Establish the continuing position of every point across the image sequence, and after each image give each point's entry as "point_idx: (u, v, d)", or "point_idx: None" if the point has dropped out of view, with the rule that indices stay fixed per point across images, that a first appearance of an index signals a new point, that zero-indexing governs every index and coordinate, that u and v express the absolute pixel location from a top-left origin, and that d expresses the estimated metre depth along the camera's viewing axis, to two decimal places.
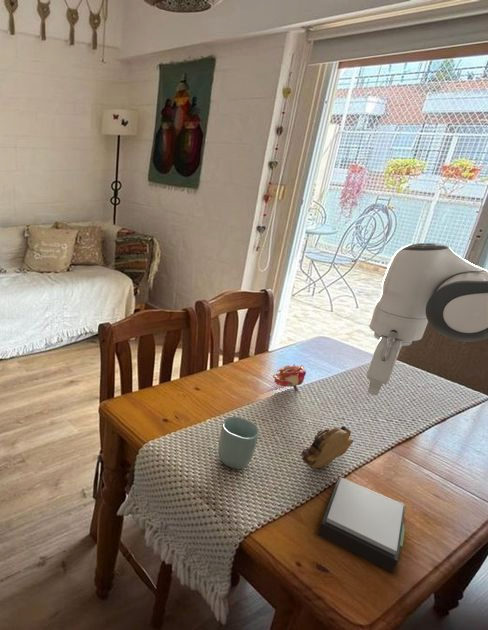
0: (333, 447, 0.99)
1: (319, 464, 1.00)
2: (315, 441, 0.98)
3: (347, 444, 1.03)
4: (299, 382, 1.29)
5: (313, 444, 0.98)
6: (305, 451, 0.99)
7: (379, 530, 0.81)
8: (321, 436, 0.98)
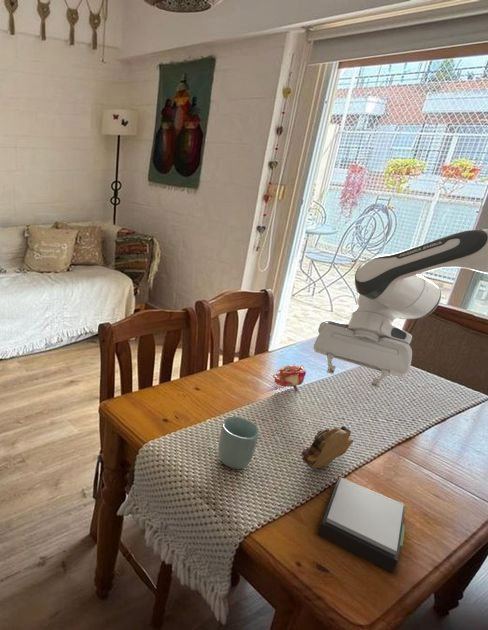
0: (333, 447, 0.99)
1: (319, 464, 1.00)
2: (315, 441, 0.98)
3: (347, 444, 1.03)
4: (299, 382, 1.29)
5: (313, 444, 0.98)
6: (305, 451, 0.99)
7: (379, 530, 0.81)
8: (321, 436, 0.98)
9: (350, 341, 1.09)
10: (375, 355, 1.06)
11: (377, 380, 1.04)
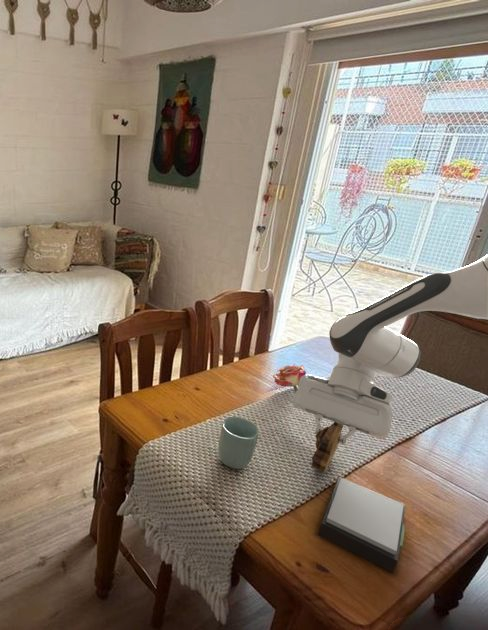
0: (334, 445, 0.99)
1: (327, 466, 0.99)
2: (321, 444, 0.96)
3: None
4: None
5: (320, 448, 0.97)
6: (315, 457, 0.97)
7: (379, 530, 0.81)
8: (325, 438, 0.97)
9: (329, 398, 1.05)
10: (354, 414, 1.01)
11: (344, 437, 1.01)
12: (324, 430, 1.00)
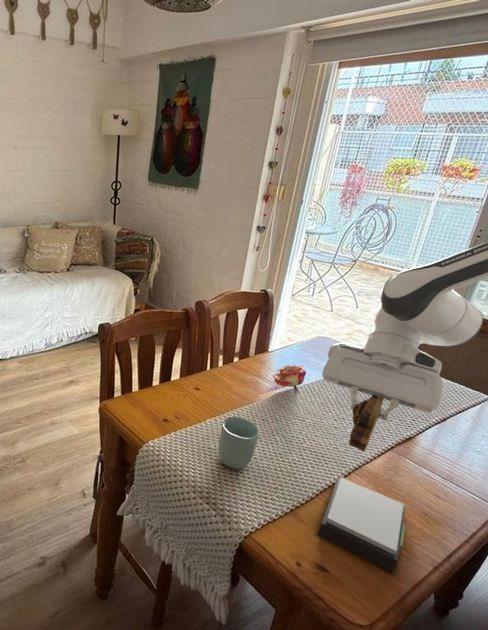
0: (375, 421, 0.86)
1: None
2: (361, 419, 0.83)
3: None
4: (299, 382, 1.29)
5: (359, 423, 0.83)
6: (354, 434, 0.83)
7: (379, 530, 0.81)
8: (365, 411, 0.83)
9: (366, 368, 0.92)
10: (396, 385, 0.88)
11: (385, 411, 0.87)
12: (363, 403, 0.86)
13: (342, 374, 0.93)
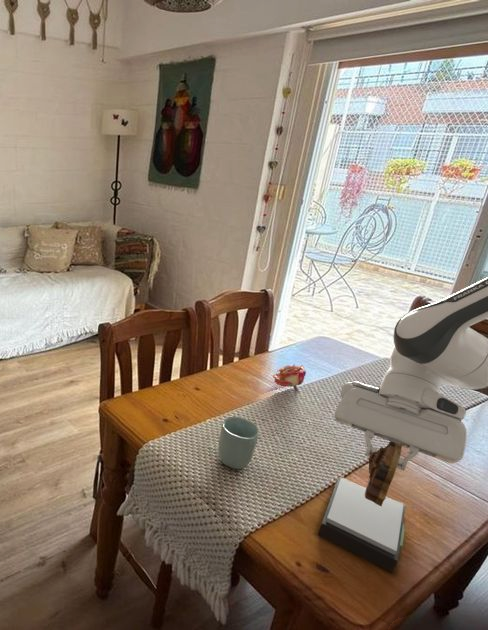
0: None
1: None
2: (379, 471, 0.76)
3: None
4: (299, 382, 1.29)
5: (377, 476, 0.77)
6: (371, 488, 0.76)
7: (379, 530, 0.81)
8: (383, 463, 0.77)
9: (382, 411, 0.85)
10: (416, 432, 0.81)
11: (403, 460, 0.81)
12: (380, 452, 0.80)
13: (356, 417, 0.86)
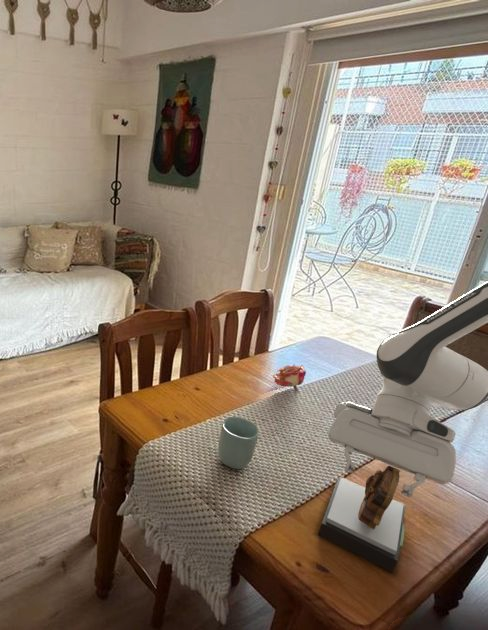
0: None
1: None
2: (377, 497, 0.78)
3: None
4: (299, 382, 1.29)
5: (374, 501, 0.78)
6: (366, 511, 0.78)
7: (379, 530, 0.81)
8: (381, 489, 0.78)
9: (374, 432, 0.87)
10: (407, 454, 0.83)
11: (410, 487, 0.82)
12: (378, 477, 0.81)
13: (349, 437, 0.88)
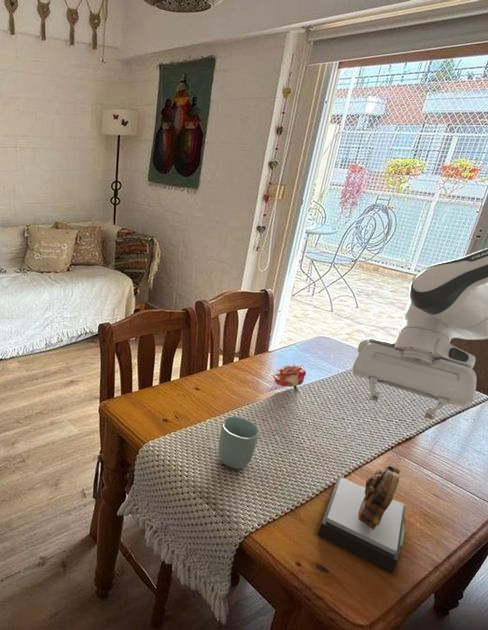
0: None
1: None
2: (377, 497, 0.78)
3: None
4: (299, 382, 1.29)
5: (374, 501, 0.78)
6: (367, 512, 0.78)
7: (379, 530, 0.81)
8: (381, 489, 0.78)
9: (397, 363, 0.92)
10: (429, 380, 0.88)
11: (433, 410, 0.86)
12: (378, 477, 0.81)
13: (373, 369, 0.93)
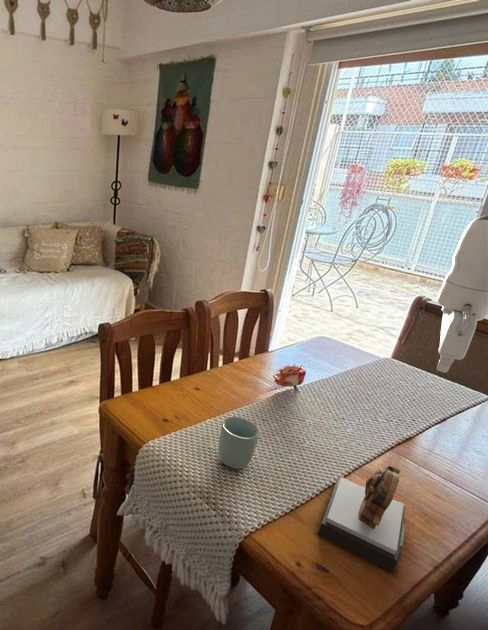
0: None
1: None
2: (377, 497, 0.78)
3: None
4: (299, 382, 1.29)
5: (374, 501, 0.78)
6: (367, 512, 0.78)
7: (379, 530, 0.81)
8: (381, 489, 0.78)
9: None
10: None
11: None
12: (378, 477, 0.81)
13: None
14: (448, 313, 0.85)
